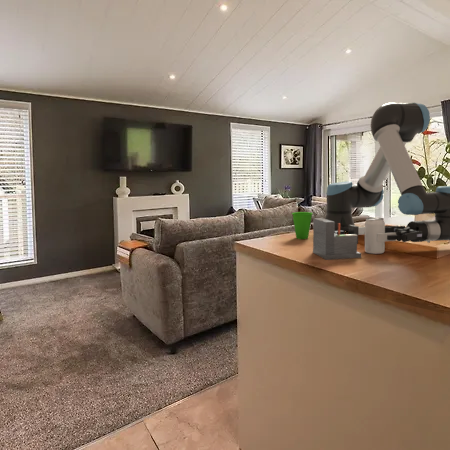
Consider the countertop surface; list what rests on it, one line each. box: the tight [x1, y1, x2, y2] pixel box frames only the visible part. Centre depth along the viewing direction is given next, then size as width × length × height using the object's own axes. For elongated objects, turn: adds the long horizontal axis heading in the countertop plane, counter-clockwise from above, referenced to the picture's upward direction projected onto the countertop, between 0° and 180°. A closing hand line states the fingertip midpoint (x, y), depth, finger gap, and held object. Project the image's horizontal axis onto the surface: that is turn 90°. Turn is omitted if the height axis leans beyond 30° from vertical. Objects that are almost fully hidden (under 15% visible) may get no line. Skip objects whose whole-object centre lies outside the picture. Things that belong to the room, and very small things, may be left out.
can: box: [364, 217, 386, 255], centre depth 123 cm, size 6×6×12 cm
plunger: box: [335, 223, 360, 245], centre depth 121 cm, size 9×6×8 cm, turn 98°
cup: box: [291, 211, 313, 240], centre depth 154 cm, size 9×9×11 cm
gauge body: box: [312, 217, 362, 261], centre depth 121 cm, size 12×11×12 cm
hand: (366, 234), depth 122 cm, fingers open, 13 cm apart
